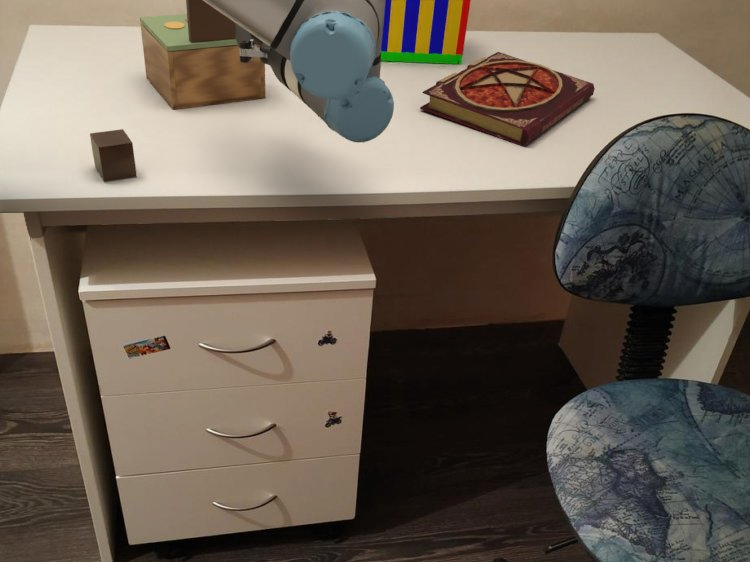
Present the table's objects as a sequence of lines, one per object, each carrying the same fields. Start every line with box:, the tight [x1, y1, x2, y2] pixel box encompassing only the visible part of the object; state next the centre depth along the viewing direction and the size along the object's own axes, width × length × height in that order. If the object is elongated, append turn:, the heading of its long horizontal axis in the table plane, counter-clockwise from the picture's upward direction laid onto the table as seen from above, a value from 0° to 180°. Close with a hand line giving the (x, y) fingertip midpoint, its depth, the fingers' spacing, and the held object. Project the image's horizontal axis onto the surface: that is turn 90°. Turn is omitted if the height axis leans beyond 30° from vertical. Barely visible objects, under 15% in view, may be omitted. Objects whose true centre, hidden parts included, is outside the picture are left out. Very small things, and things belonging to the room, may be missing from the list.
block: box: [89, 128, 138, 183], centre depth 110 cm, size 4×4×5 cm
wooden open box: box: [139, 22, 266, 110], centre depth 133 cm, size 16×14×9 cm
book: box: [419, 51, 595, 147], centre depth 141 cm, size 28×21×5 cm
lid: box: [139, 0, 255, 51], centre depth 128 cm, size 16×14×8 cm
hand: (239, 9), depth 114 cm, fingers closed
